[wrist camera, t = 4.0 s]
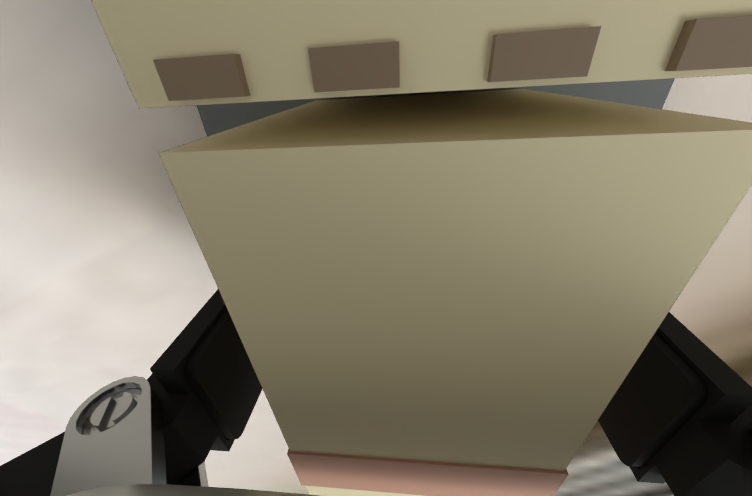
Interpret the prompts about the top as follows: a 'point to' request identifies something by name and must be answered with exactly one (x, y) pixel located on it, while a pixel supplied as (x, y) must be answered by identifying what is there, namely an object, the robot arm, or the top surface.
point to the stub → (453, 272)
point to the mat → (619, 92)
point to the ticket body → (412, 45)
